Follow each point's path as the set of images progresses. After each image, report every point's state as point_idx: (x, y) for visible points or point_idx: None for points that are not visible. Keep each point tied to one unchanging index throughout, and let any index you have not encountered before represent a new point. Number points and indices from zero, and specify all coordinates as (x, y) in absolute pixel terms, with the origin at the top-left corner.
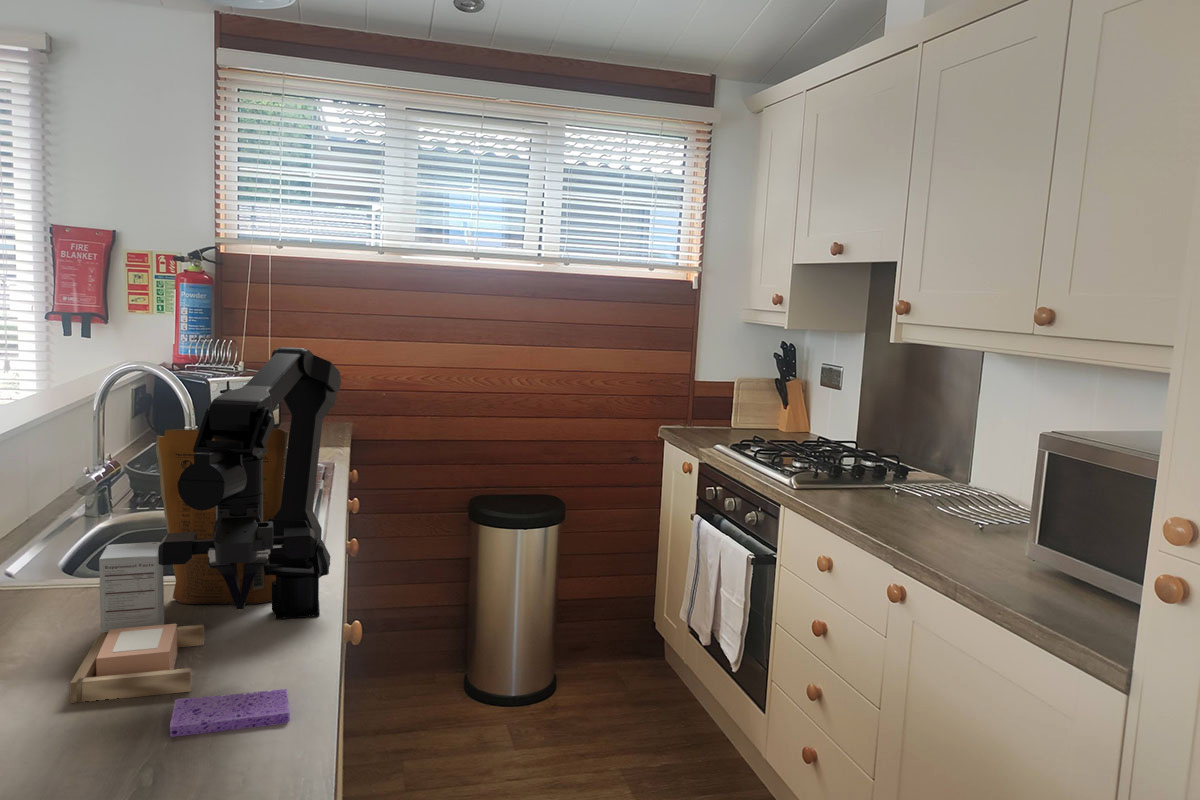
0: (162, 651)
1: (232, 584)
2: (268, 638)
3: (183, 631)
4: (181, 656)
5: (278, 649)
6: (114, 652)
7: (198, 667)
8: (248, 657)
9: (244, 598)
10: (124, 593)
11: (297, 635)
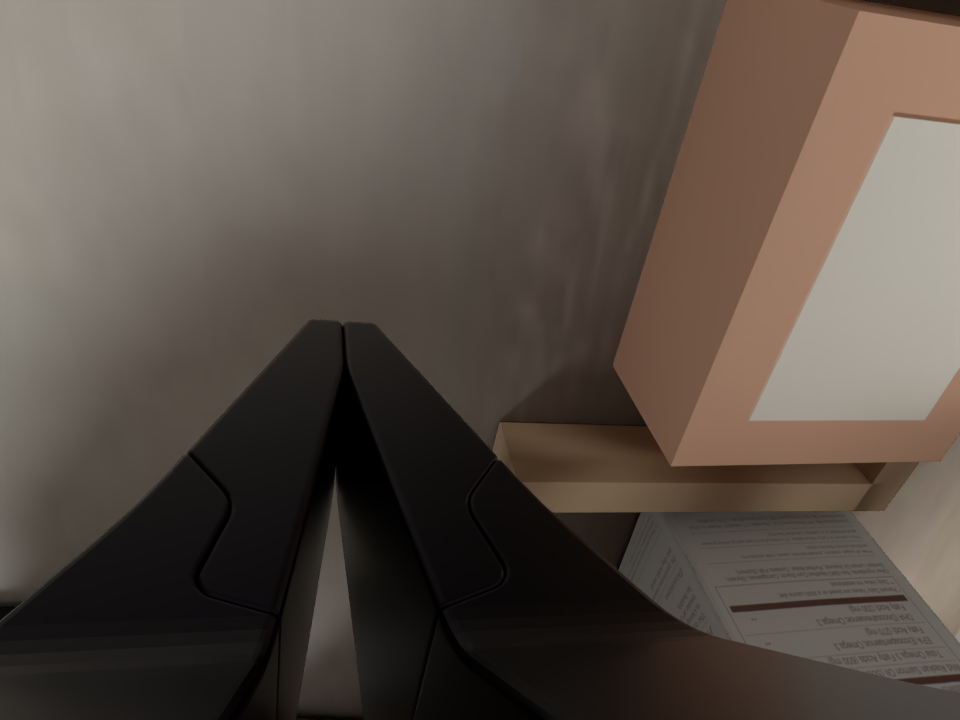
0: (894, 32)
1: (457, 489)
2: (196, 429)
3: (598, 474)
4: (603, 330)
5: (120, 279)
6: None
7: (556, 169)
8: (291, 218)
9: (289, 366)
10: (896, 677)
11: (35, 432)
